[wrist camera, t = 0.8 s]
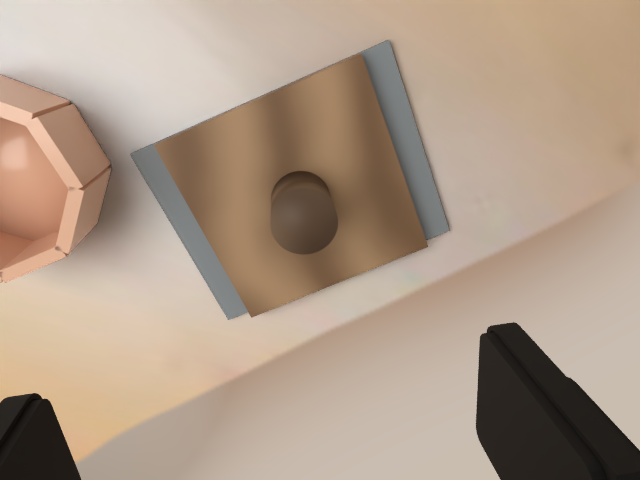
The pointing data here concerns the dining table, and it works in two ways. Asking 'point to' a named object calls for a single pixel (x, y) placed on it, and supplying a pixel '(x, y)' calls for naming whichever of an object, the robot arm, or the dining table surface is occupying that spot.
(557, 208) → the dining table surface
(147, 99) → the dining table surface
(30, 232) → the bowl
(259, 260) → the lid
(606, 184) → the dining table surface
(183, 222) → the mat
